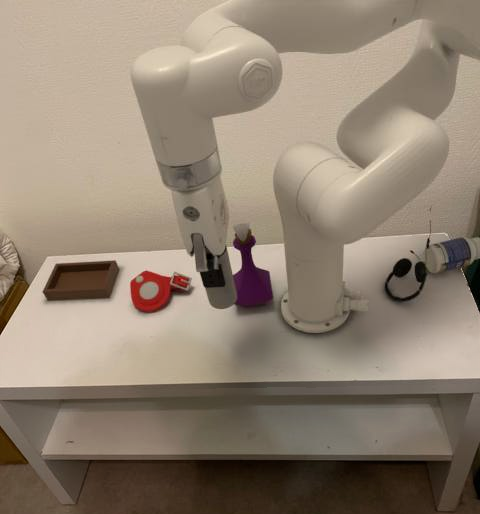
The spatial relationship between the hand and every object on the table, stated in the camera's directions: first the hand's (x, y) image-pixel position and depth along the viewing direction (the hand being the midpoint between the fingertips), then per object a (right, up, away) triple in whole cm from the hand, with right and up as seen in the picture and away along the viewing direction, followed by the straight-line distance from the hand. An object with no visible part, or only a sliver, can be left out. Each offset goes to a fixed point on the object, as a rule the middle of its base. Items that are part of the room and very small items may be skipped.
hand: (216, 272), depth 71 cm
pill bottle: (+38, +4, +18) cm, 43 cm away
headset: (+40, +15, +16) cm, 46 cm away
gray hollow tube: (+1, -4, +4) cm, 6 cm away
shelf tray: (-30, 0, +31) cm, 43 cm away
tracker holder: (-12, -2, +25) cm, 28 cm away
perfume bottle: (+6, -3, +21) cm, 22 cm away
